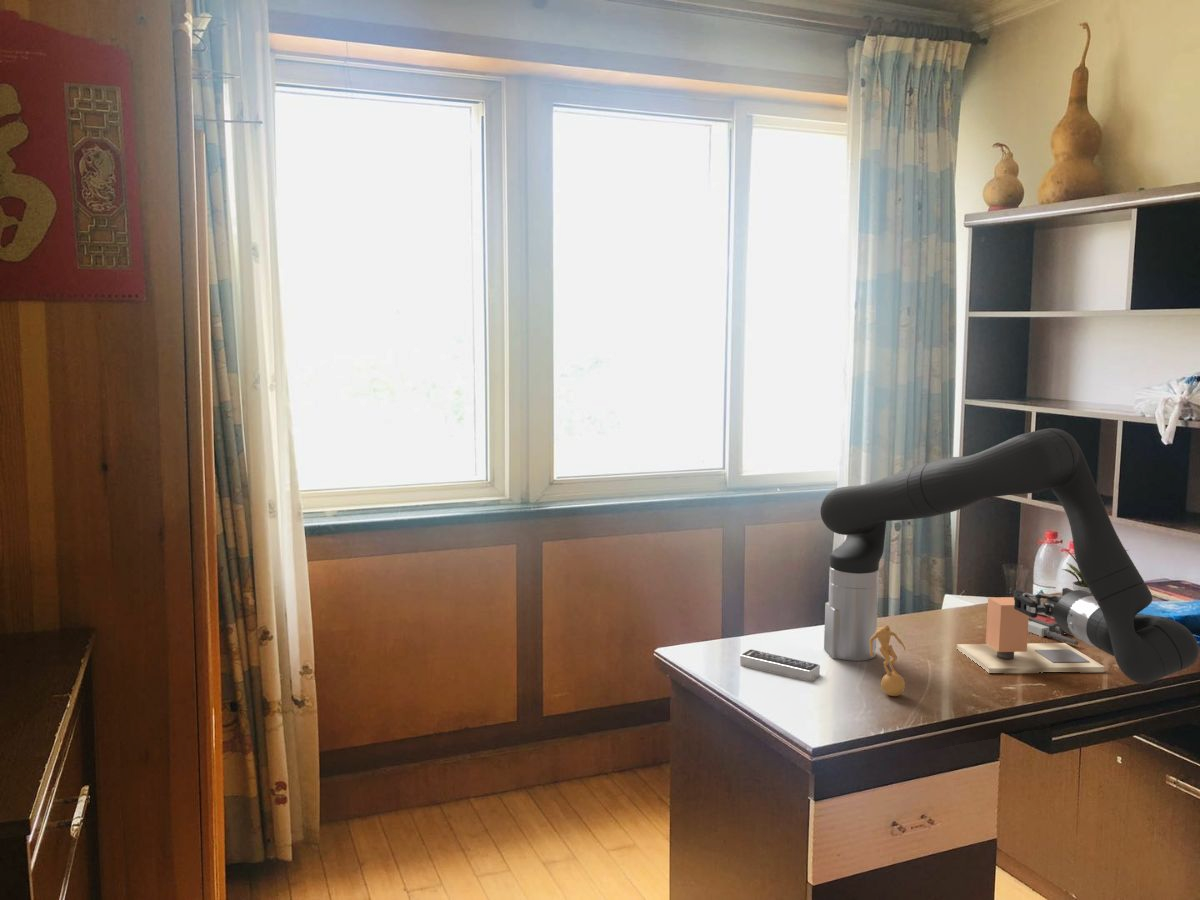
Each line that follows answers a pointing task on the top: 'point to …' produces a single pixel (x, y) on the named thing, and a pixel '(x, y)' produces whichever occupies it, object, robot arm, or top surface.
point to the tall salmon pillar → (1006, 626)
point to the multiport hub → (780, 665)
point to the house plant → (1077, 584)
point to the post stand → (1031, 659)
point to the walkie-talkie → (1047, 628)
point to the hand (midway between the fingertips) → (1040, 593)
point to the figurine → (891, 681)
